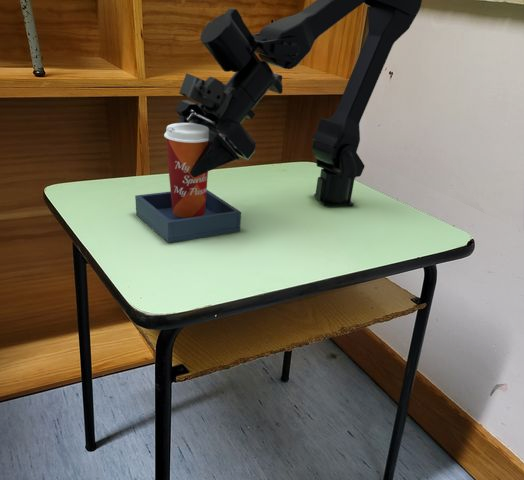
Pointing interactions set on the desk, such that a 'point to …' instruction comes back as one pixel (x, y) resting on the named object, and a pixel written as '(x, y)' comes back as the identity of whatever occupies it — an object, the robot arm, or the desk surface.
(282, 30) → the robot arm
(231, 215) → the open square box
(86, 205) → the desk surface
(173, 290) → the desk surface
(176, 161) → the paper cup
